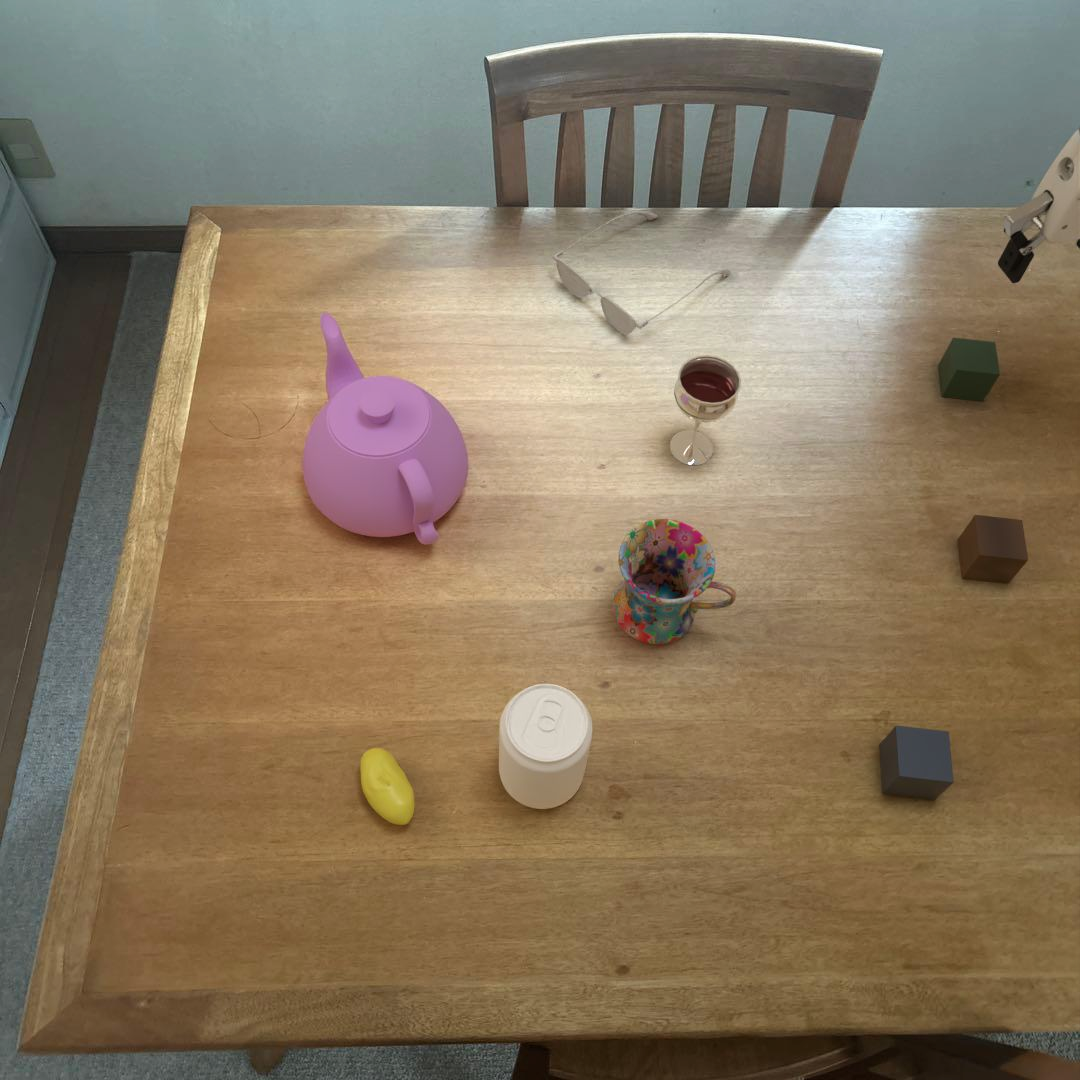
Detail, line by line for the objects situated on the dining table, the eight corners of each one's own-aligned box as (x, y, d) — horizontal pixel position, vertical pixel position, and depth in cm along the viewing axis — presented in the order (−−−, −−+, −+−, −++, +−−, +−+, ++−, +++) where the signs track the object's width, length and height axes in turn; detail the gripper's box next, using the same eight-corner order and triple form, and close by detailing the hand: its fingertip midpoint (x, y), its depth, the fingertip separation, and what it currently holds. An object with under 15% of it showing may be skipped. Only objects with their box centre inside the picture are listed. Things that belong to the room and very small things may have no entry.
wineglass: (688, 481, 121) (706, 415, 111) (649, 441, 124) (664, 372, 113) (733, 453, 123) (755, 386, 113) (694, 414, 126) (712, 345, 116)
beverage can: (487, 796, 101) (486, 750, 91) (513, 719, 105) (516, 667, 95) (570, 822, 100) (579, 779, 90) (593, 743, 104) (604, 693, 94)
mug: (595, 633, 111) (605, 582, 102) (624, 560, 115) (636, 506, 106) (708, 673, 109) (728, 625, 100) (732, 598, 113) (754, 545, 104)
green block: (979, 369, 131) (995, 341, 127) (983, 401, 129) (1000, 374, 124) (937, 365, 131) (952, 337, 127) (941, 397, 129) (956, 369, 125)
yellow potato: (393, 747, 103) (389, 732, 100) (425, 821, 100) (423, 808, 96) (351, 764, 102) (346, 750, 99) (382, 841, 99) (379, 828, 95)
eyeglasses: (549, 276, 137) (551, 252, 133) (650, 212, 143) (654, 188, 140) (635, 347, 131) (639, 324, 128) (735, 277, 138) (742, 254, 134)
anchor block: (930, 750, 105) (949, 731, 101) (934, 800, 103) (954, 782, 99) (879, 744, 106) (895, 725, 101) (882, 794, 103) (899, 776, 99)
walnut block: (1003, 544, 118) (1022, 519, 114) (1008, 583, 116) (1028, 560, 111) (957, 539, 118) (974, 514, 114) (961, 578, 116) (979, 554, 112)
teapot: (508, 522, 117) (510, 447, 106) (359, 592, 112) (344, 521, 100) (405, 366, 128) (396, 282, 116) (264, 423, 123) (241, 341, 111)
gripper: (1073, 169, 95) (995, 307, 109) (1233, 131, 98) (1137, 270, 113) (1025, 116, 98) (957, 256, 113) (1181, 81, 102) (1095, 222, 116)
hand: (1047, 263), depth 113 cm, fingers open, 9 cm apart
